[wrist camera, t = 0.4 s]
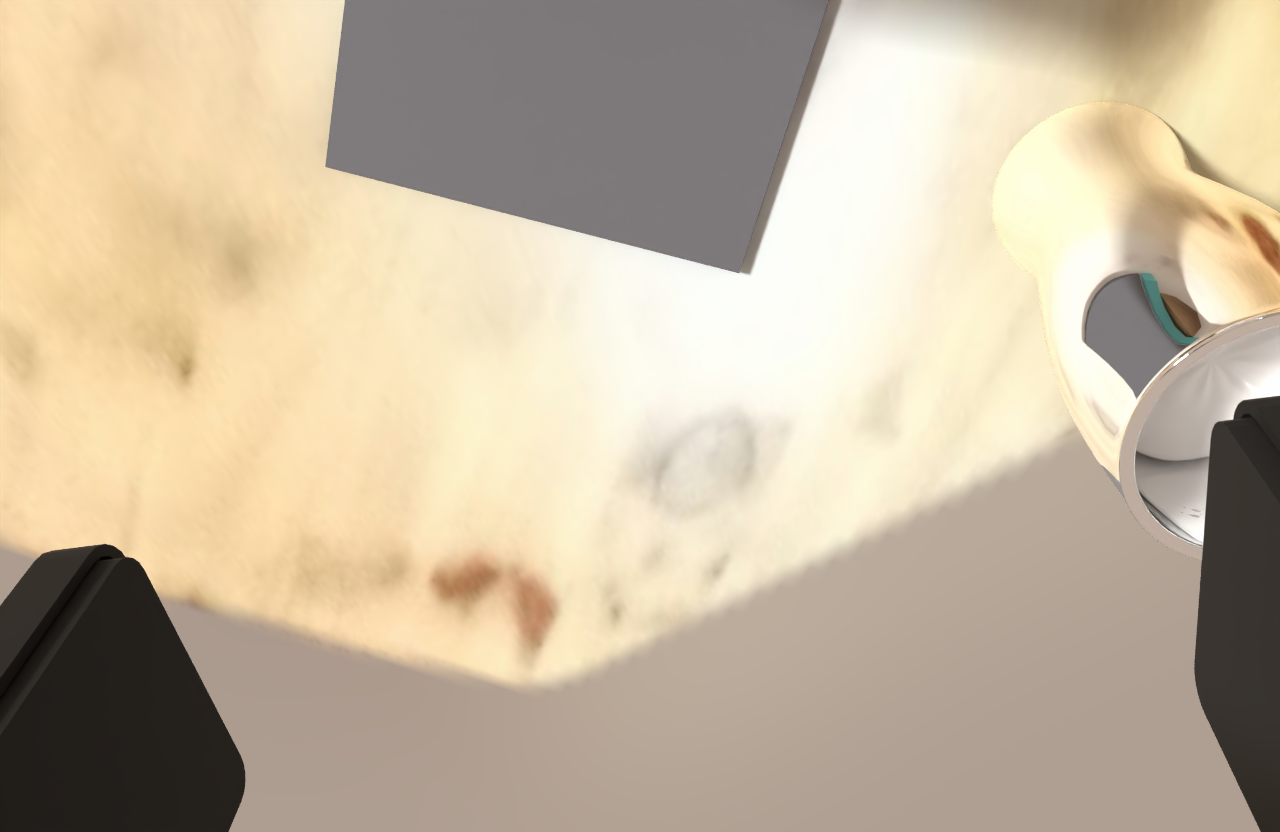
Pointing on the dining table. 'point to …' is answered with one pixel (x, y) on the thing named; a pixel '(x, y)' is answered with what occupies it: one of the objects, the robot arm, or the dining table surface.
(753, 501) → the dining table surface
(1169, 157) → the beer glass
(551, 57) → the mat
